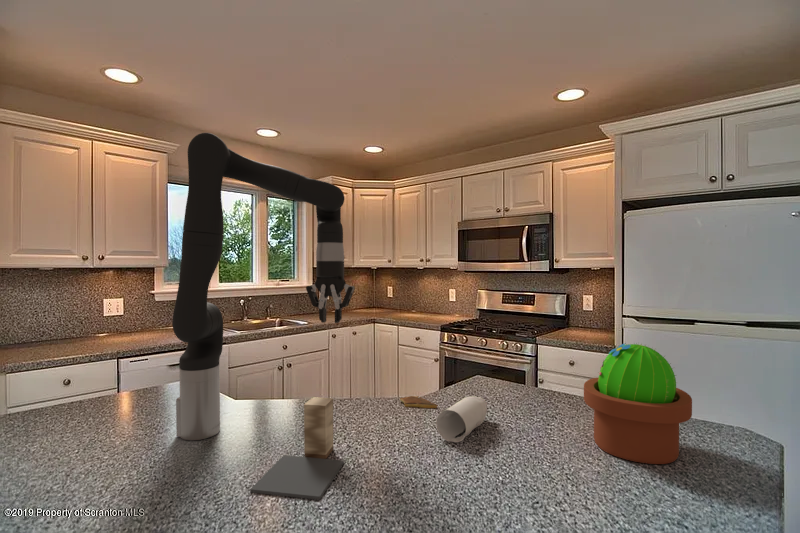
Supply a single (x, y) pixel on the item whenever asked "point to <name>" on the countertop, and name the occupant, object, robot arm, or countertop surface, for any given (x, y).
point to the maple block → (318, 427)
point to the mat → (298, 477)
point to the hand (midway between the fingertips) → (330, 322)
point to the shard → (417, 402)
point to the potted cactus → (637, 406)
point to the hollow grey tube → (461, 418)
